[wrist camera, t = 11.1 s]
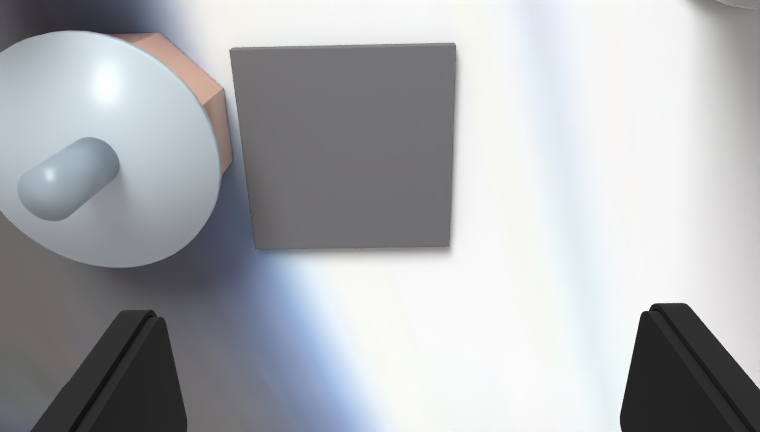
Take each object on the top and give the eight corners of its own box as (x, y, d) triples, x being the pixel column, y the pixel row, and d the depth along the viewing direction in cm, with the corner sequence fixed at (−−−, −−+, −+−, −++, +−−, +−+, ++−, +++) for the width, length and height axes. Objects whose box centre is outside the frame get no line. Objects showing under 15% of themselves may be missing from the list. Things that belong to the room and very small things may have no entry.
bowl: (215, 31, 36) (184, 46, 30) (239, 206, 41) (217, 245, 36) (26, 35, 36) (-38, 51, 31) (73, 208, 41) (26, 248, 36)
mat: (454, 42, 36) (455, 45, 35) (448, 239, 42) (449, 246, 41) (233, 47, 36) (229, 50, 35) (258, 242, 42) (255, 249, 41)
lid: (202, 27, 30) (163, 44, 25) (236, 259, 36) (210, 313, 31) (-61, 33, 30) (-154, 50, 25) (16, 262, 36) (-47, 316, 31)
